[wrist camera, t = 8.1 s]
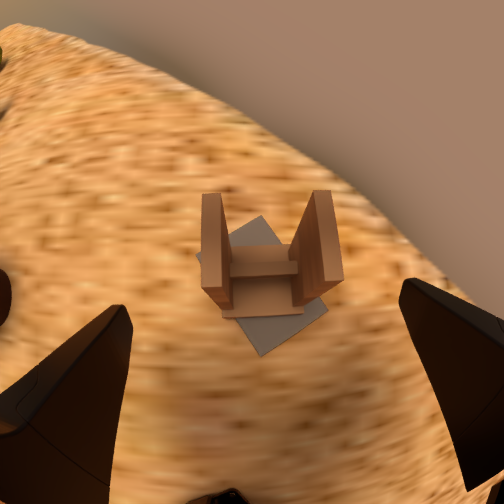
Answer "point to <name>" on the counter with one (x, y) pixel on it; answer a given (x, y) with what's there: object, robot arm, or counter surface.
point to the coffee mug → (4, 296)
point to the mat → (276, 327)
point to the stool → (270, 263)
